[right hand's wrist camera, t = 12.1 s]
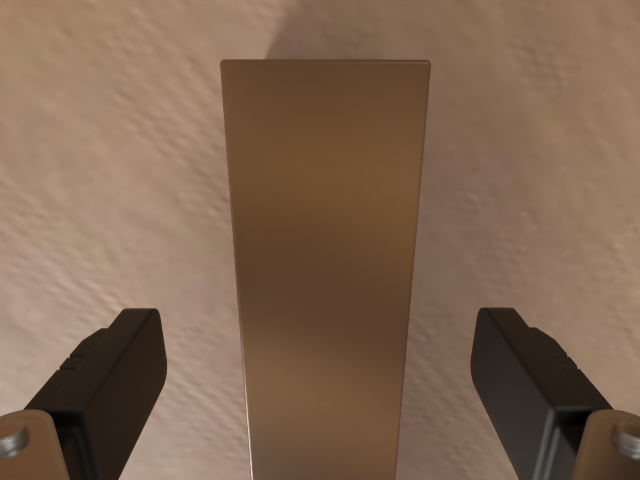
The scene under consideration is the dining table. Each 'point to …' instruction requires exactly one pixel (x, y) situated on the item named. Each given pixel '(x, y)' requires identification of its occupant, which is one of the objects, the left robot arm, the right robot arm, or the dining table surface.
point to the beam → (324, 256)
